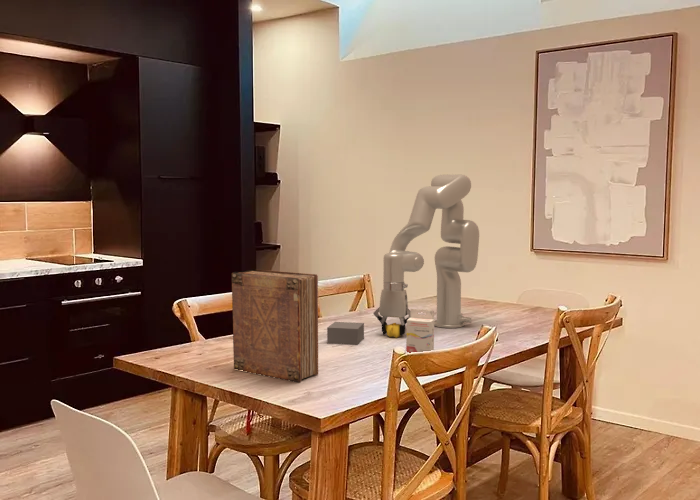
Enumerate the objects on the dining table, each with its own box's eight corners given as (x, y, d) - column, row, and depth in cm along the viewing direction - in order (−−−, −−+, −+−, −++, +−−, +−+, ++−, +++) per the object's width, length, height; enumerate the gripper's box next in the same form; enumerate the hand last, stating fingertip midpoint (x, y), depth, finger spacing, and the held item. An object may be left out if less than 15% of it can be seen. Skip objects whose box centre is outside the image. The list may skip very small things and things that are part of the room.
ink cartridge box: (405, 354, 227) (405, 310, 226) (409, 351, 232) (409, 308, 231) (431, 356, 225) (431, 312, 223) (434, 353, 229) (434, 309, 228)
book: (319, 375, 203) (318, 274, 200) (300, 382, 195) (299, 278, 192) (253, 363, 216) (252, 269, 214) (233, 370, 209) (231, 272, 206)
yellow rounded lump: (390, 333, 260) (390, 320, 260) (404, 335, 258) (404, 321, 257) (381, 337, 253) (381, 323, 253) (395, 339, 251) (396, 325, 250)
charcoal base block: (363, 339, 252) (363, 323, 252) (357, 345, 241) (357, 329, 241) (334, 337, 255) (334, 321, 254) (327, 344, 244) (327, 327, 243)
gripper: (418, 286, 254) (418, 334, 256) (374, 284, 260) (374, 331, 262) (413, 289, 247) (413, 338, 249) (368, 286, 253) (368, 334, 255)
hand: (393, 334), depth 255 cm, fingers closed on yellow rounded lump, 5 cm apart
